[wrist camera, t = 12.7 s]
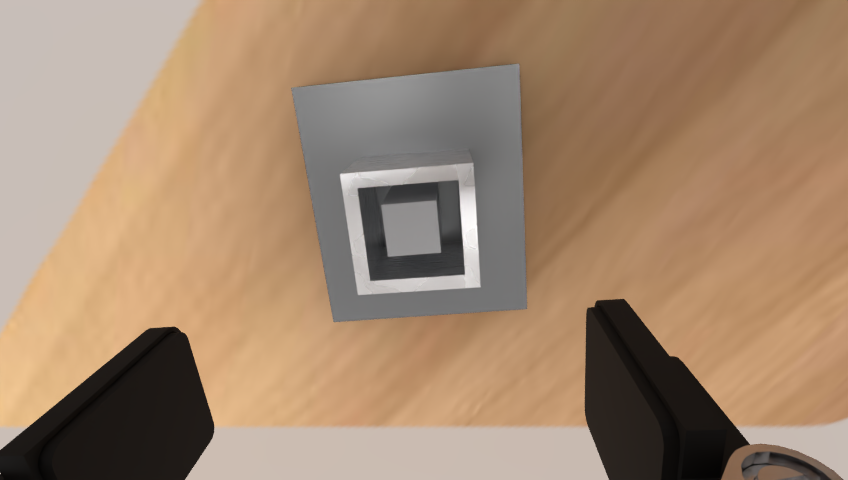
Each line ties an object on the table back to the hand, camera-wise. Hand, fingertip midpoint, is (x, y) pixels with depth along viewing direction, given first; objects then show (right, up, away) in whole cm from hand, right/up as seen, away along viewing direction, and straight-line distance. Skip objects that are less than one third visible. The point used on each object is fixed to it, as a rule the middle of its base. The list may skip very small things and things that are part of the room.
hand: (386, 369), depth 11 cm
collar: (+1, +5, +15) cm, 16 cm away
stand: (+1, +5, +17) cm, 18 cm away
